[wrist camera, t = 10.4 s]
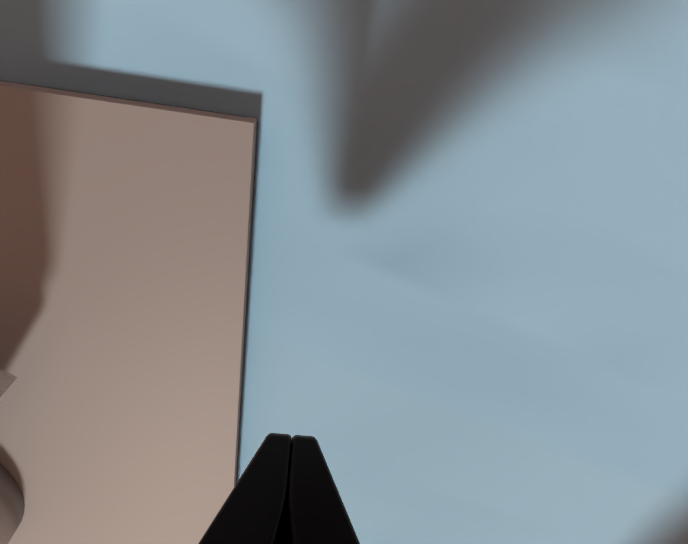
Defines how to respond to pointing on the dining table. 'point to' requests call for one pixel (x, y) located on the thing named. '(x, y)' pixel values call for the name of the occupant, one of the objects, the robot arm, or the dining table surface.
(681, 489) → the dining table surface
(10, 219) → the dial plate
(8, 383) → the crank
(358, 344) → the dining table surface
